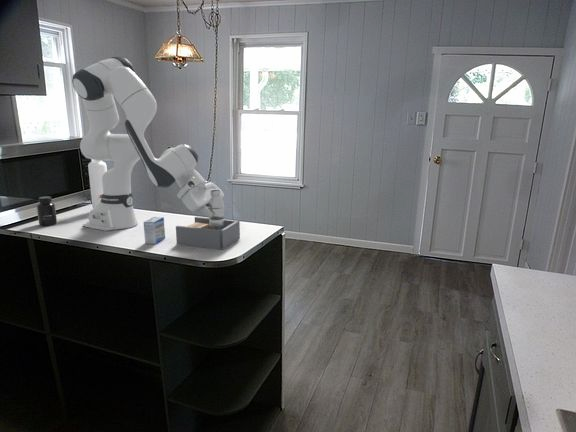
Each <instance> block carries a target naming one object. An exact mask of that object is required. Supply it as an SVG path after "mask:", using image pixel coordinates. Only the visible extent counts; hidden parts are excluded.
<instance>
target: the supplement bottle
mask: <svg viewBox="0 0 576 432" xmlns="http://www.w3.org/2000/svg"><path fill="white" fill-rule="evenodd" d="M36 210H37V219H38V225H39V226H41V227H51V226H54V225H56V224H57V223H58V219H57V210H56V204H55V203H54V202H53V199H52V196H48V195H47V196H40V197H38V204H37V205H36Z"/></svg>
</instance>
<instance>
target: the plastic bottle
mask: <svg viewBox="0 0 576 432" xmlns="http://www.w3.org/2000/svg"><path fill="white" fill-rule="evenodd" d="M220 190H221V189H220ZM220 190H211V194H210V196H211V198H210V200H209V203H208V204H207V208H208V209H209V210H211V211H213V212H214V213H215V215H214V216H212V217H209V216H208V218H209V229H216V230H222V229H224V219H225V217H224V216H225V209H226V207H225V201H224V200H223V198H221V197H220V196H221V191H222V190H221V191H220ZM224 208H225V209H224Z"/></svg>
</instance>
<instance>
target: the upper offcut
mask: <svg viewBox="0 0 576 432" xmlns="http://www.w3.org/2000/svg"><path fill="white" fill-rule="evenodd" d="M186 226H187V227H197V228H207V229H209V224H204V223H197V222H196V223H195V222H194V223H191V224H189V225H186Z"/></svg>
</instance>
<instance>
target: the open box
mask: <svg viewBox="0 0 576 432" xmlns="http://www.w3.org/2000/svg"><path fill="white" fill-rule="evenodd" d="M196 222H197V223H204V224H209V217H205V216H204V217H203V216H195V217H194V223H196ZM187 226H188V225H175V235H176V245H180V246H187V247H197V248H206V249H215V250H225V249H227V247H229V246H230V245H232V244H233V243H234V242H237V240H239V239H240V238H241V232H240V229H241V228H240V226H241V222H240V220H233V219H225V218H224V229H222V230H216V229H207V228H197V227H187Z"/></svg>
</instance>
